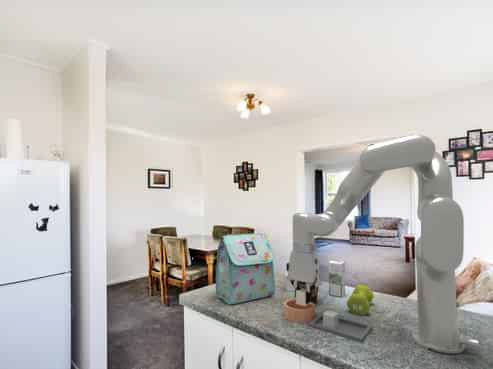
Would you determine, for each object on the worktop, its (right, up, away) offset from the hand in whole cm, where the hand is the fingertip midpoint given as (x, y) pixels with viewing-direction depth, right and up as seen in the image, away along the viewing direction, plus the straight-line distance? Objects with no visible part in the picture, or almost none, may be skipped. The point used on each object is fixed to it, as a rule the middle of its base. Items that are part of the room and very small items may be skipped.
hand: (303, 300), depth 99 cm
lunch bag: (-20, -7, +22) cm, 31 cm away
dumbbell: (+24, -7, +9) cm, 26 cm away
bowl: (-1, -6, +1) cm, 6 cm away
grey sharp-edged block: (+7, -5, -9) cm, 12 cm away
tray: (+10, -6, -8) cm, 14 cm away
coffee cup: (+5, -7, +14) cm, 17 cm away
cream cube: (0, -1, 0) cm, 1 cm away
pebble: (+8, -6, -3) cm, 10 cm away
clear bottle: (+20, -8, +25) cm, 33 cm away
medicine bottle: (+2, -8, +33) cm, 34 cm away
